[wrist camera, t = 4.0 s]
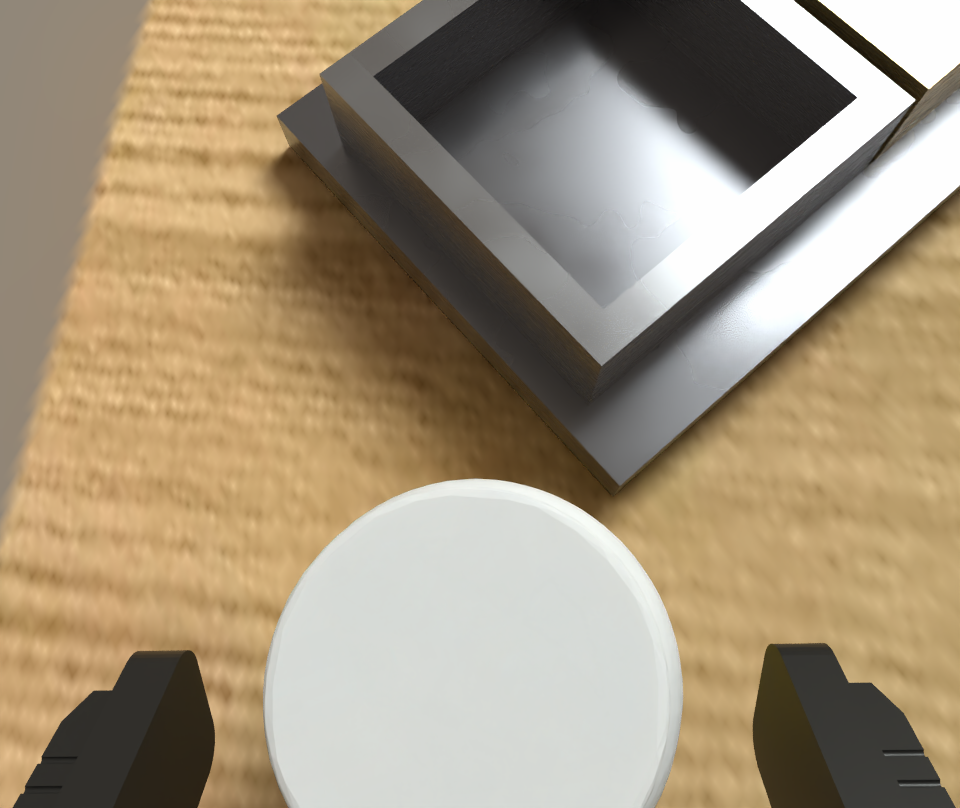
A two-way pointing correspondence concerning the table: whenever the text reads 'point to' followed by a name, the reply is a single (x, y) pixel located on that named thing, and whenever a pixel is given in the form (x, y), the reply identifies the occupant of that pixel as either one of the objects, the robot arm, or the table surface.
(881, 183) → the two compartment tray
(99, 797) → the robot arm
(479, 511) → the supplement bottle
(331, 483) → the table surface
